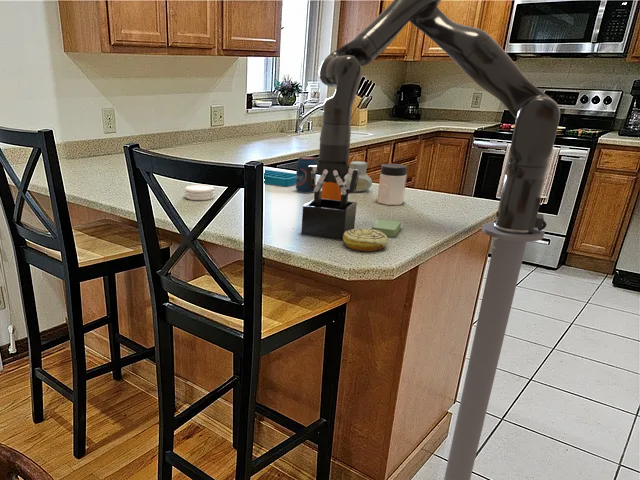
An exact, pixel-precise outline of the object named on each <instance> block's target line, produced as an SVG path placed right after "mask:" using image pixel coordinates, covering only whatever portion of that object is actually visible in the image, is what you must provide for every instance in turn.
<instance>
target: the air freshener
mask: <svg viewBox="0 0 640 480" xmlns="http://www.w3.org/2000/svg"><path fill="white" fill-rule="evenodd" d="M367 167H368V163H367V162H366V161H357V160H356V161H355V160H354V161H351V162H350V163H349V168H351V169H359V170H360V174H359V178H358V183H357V187H356V191H354V192H353V193H362V192H365V191H367V190H369V189H370V188H371V187H372V185H373V180H372V178H371V177H370V176H369V175H368V174H367V169H368V168H367ZM351 179H352V178H351V177H350V173H349V172H348V173H347V174H346V176H345V180H346V183H347V187H348V188H350V183H351Z"/></svg>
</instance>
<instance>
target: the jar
mask: <svg viewBox="0 0 640 480" xmlns="http://www.w3.org/2000/svg"><path fill="white" fill-rule="evenodd" d="M407 177H408V166H407V164H402V163H383V164H381V168H380V174H379V183H378V191H377V203H379V204H382V205H386V206H401V205H402V204H403V203H404V200H405V194H406V193H405V191H406V184H407Z"/></svg>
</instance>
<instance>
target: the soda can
mask: <svg viewBox="0 0 640 480" xmlns="http://www.w3.org/2000/svg"><path fill="white" fill-rule="evenodd" d="M310 165H313V166H317V165H318V162H317V159H316V156H310V155H302V156H299V157H298V160H297V162H296V174H297V175H296V184H295V189H296V191H297V192H298V193H301V194H311V193H313V192H314V191H313V190H311V189H308V186H307V170H306V168H307V167H308V166H310ZM316 178H317V172H316V173H315V174H314V180H315V183H317V182H316V181H317V179H316Z"/></svg>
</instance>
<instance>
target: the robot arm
mask: <svg viewBox="0 0 640 480" xmlns="http://www.w3.org/2000/svg"><path fill="white" fill-rule="evenodd" d="M441 1H442V0H393V1H392V2H391V3H390V4H389V5H388V6H387V7H386V8H385V9H384V10H383V11H382V12H381V13H380V14H379V15H378V16H377V17H376V18H375V19H374V20H372V21H371V23H369V24H368V25H367V26H366V27H365V28H363V30H362V31H360V32H359V33H358V34H357V35H356V36H355V37H354V38H353V39H352V40H350V41H349V42H347V43H345V44H343V45H342V46H341V47H338V48H337V49H336V50H335V49H334V51H332V52H331V53H329V54H328V55H327V56H326V57H325V58H324V59H323V61H322V62H321V65H320V66H319V70H318V74H319V79H320V81H321V83H322V84H323V85H324V86H326V87H330V88H331V87H333V88H334V87H335V92H334V94H333V96H331V97H329V98H326V99H325V100H324V103H323V107H322V120H321V121H322V123H321V129H320V134H319V135H320V136H319V150H318V151H319V154H318V162H317V166H313V165H310V166H308V167H307V168H306V170H307V186H308V189H311V190H313V192H314V193H313V199H314V204H316V206H320V205H321V192H322V186H323V185H324V183H325V182H333V183H337V184H338V186H339V187H340V190H341V203H340V209H344V208H345V207H346V206H347V202H348V201H349V195H350V194H353V193H355V192H354V191H356V187H357V183H358V178H359V174H360V170H359V169H351V168H350V164H349V157H350V147H351V134H352V130H351V129H352V128H351V125H352V123H351V122H352V112H353V111H352V110H353V105H354V102H355V99H356V96H357V93H358V90H359V87H360V85H361V80H362V76H363V75H362V74H363V69H362V67H366V66H368V65H370V64H371V63H372V62H373V61H375V59H376V58H378V56H380V55H381V54H382V53H383V52H384V51H385V50H386V49H387V48H388V47H389V46H390V45H391V44H392V42H393V41H394V40H395V39H396V37H398V35H399V34H400V33H401V31H402V30H403V29H404V28H405V26H406V25H407V24H408V23H409V22H410V23H411V25H413V26H414V27H415V28H417V29H418V30H419V31H421V32H422V33H423V34H425V35H426V36H427V37H428V38H429V39H430V40H431V41H433V42H434V43H435V44H436V45H437V47H439V48H440V49H441V50H443V52H444V53H445V54H446V55H447V56H449V57H450V58H451V60H452V61H453V62H454V63H455V64H456V65H457V67H459V69H461V71H462V72H464V73H465V74H466V75H467V76H468V78H469V79H471V80H472V81H473V82H474V83H475V84H476V85H478V86H479V87H480V88H482V89H483V90H485V91H486V92H488V93H489V94H491V95H492V96H493V97H494V98H496V99H497V100H499V101H500V103H502V104H503V106H504V107H505V108H506V109H507V111H509V112H510V114H511V115H512V116H513V118H514V119H515V123H514V127H513V132H512V136H511V137H512V138H511V143H510V148H509V153H508V160H507V165H506V169H505V174H504V179H503V182H502V183H503V184H502V188H501V193H500V198H499V203H498V207H497V211H496V214H495V221H494V222H495V224H494V228H495V229H497V230H499V231H502V232H506V233H512V234H533V230H534V228H538V230H539V231H540V230H542V231H543V230H544V229H546V227H547V222H546V221H545V218H544V214H543V213H539V209H540V206H541V205H540V204H541V200H542V193H543V188H544V185H545V180H546V176H547V172H548V168H549V164H550V161H551V156H552V152H553V148H554V144H555V141H556V137H557V132H558V128H559V124H560V119H561V108H560V106H559V104H558V102H557V101H555V99H553V98H552V97H550V96H549V95H547V94H546V93H544V92H543V91H542V90H540V89H539V88H538V87H537V86H536V85H535V84H533V83H532V82H531V81H529V80H528V79H527V77H526V76H525V75H524V74H523V73H522V71H521V70H520V69H519V67H518V66H517V64H516V63H515V62H514V61H513V59H512V58H511V57H510V55H508V53H507V52H506V51H505V50H504V49H503V47H501V45H500V44H499V43H498V42H497V41H496V40H495V39H494V38H493V37H492V36H491V35H490V34H489V33H488V32H486V31H485V30H483V29H480V28H478V27H474V26H471V25H470V26H469V25H464V24H461V23H458V22H455V21H453V20H452V19H450V18H449V17H448V16H447V15H446V14H444V12H443V11H442V10H441V9H440V8H439V4H440V3H441ZM317 172H318V174H319V176H320V177H319V179H318V180H317V182H315V180H314V174H315V173H316V174H317ZM349 173H350V177H351V178H352V179H351V183H350V188H348V187H347V183H346V180H345V176H346V175H347V174H349Z"/></svg>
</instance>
